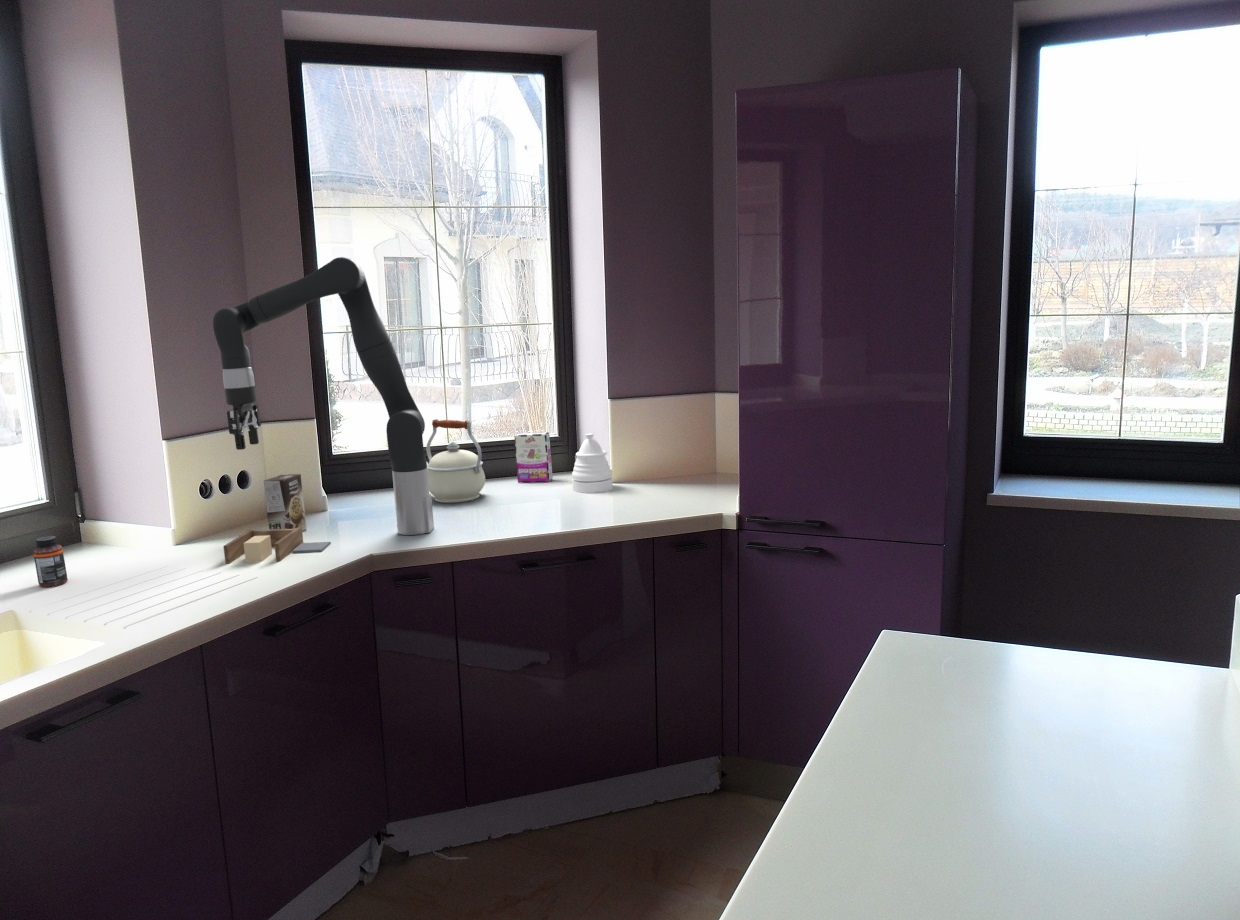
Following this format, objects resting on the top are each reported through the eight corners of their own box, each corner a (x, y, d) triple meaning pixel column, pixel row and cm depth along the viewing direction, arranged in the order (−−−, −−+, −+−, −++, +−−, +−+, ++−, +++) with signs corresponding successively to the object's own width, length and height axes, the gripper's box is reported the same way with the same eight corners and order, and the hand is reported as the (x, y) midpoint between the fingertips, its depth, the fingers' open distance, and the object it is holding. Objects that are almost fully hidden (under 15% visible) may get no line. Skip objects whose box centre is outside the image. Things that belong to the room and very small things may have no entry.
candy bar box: (553, 479, 317) (550, 431, 314) (549, 482, 312) (546, 433, 309) (521, 479, 319) (517, 432, 316) (517, 482, 314) (513, 434, 311)
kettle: (502, 494, 296) (497, 417, 292) (463, 507, 281) (457, 425, 277) (444, 489, 309) (438, 414, 305) (404, 500, 294) (396, 422, 290)
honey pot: (612, 492, 292) (609, 435, 289) (571, 493, 293) (568, 437, 289) (613, 483, 305) (610, 429, 302) (573, 485, 305) (570, 431, 302)
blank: (272, 554, 238) (270, 535, 237) (261, 562, 231) (259, 542, 230) (256, 555, 238) (254, 536, 237) (245, 562, 231) (243, 543, 230)
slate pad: (330, 543, 245) (330, 541, 245) (321, 551, 238) (321, 549, 237) (302, 545, 245) (302, 542, 245) (292, 553, 238) (292, 550, 238)
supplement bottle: (47, 581, 223) (39, 535, 221) (73, 579, 223) (65, 533, 221) (33, 589, 217) (25, 541, 215) (60, 587, 217) (52, 540, 215)
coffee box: (290, 538, 253) (283, 480, 250) (268, 538, 254) (262, 480, 252) (307, 529, 262) (301, 473, 259) (287, 529, 263) (280, 473, 260)
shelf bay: (303, 543, 247) (301, 526, 246) (280, 561, 231) (278, 543, 230) (252, 545, 247) (250, 529, 247) (225, 563, 231) (223, 546, 230)
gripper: (242, 387, 236) (250, 450, 239) (264, 381, 250) (272, 441, 253) (213, 389, 236) (222, 452, 239) (236, 383, 250) (245, 443, 253)
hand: (248, 446), depth 246 cm, fingers open, 8 cm apart
